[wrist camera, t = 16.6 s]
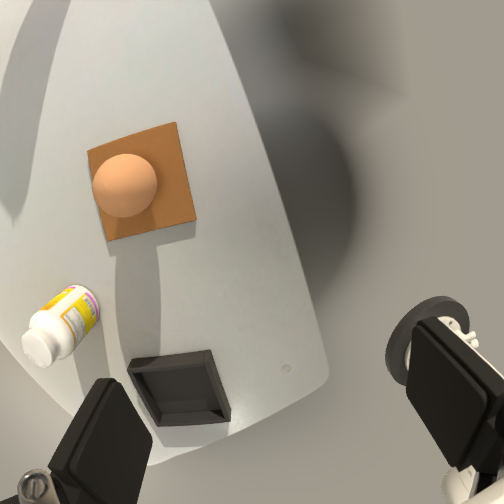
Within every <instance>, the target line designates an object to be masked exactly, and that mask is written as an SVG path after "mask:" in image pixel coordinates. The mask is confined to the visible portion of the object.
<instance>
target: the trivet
mask: <svg viewBox="0 0 504 504" xmlns="http://www.w3.org/2000/svg"><path fill="white" fill-rule="evenodd" d="M87 153H88V159H89V164H90V170H91V175H92V180H94V177H95V175H96V172H97V171H98V169H99V168H100V166H101V165H102V164H103V163H104V162H105V161H106V160H108V159H110V158H112V157H114V156H116V155H121V154H133V155H137V156H140V157H142V158H143V159H145V160H146V161H147V162H148V163H149V164H150V165H151V166H152V168H153V169H154V172H155V175H156V178H157V190H156V194H155V196H154V199H153V201H152V202H151V203H150V205H149V206H148V207H147V208H146V209H145V210H144V211H142V212H141V213H139V214H137V215H134V216H130V217H125V218H122V217H114V216H112V215H109V214H107V213H106V212H105V211H103V210H102V209H101V208H100V207H99V211H100V215H101V219H102V222H103V226H104V230H105V234H106V237H107V241H112V240H116V239H119V238H123V237H127V236H131V235H135V234H139V233H144V232H148V231H152V230H156V229H160V228H164V227H169V226H173V225H177V224H182V223H186V222H191V221H195V220H196V215H195V210H194V206H193V201H192V197H191V193H190V188H189V184H188V179H187V174H186V170H185V165H184V160H183V156H182V151H181V146H180V141H179V136H178V131H177V126H176V122H172V123H168V124H164V125H161V126H158V127H154V128H151V129H148V130H144V131H141V132H138V133H135V134H132V135H129V136H126V137H123V138H120V139H117V140H115V141H112V142H109V143H106V144H104V145H101V146H98V147H96V148H93V149H90V150H88V151H87Z"/></svg>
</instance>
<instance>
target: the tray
mask: <svg viewBox="0 0 504 504" xmlns="http://www.w3.org/2000/svg"><path fill="white" fill-rule="evenodd" d="M127 372H128V374H129V376H130V378H131V380H132V382H133V384H134V386H135V388H136V389H137V391H138V393H139V395H140V397H141V399H142V401H143V402H144V404H145V406H146V408H147V410H148V411H149V413H150V415H151V417H152V418H153V420H154V422H155V424H156V425H157V427H164V426H187V425H201V424H213V423H223V422H230V421H231V408H230V405H229V403H228V400H227V397H226V394H225V391H224V389H223V386H222V383H221V380H220V377H219V374H218V371H217V368H216V365H215V362H214V359H213V356H212V353H211V350H205V351H198V352H191V353H183V354H175V355H167V356H158V357H149V358H138V359H132V360H131V362H130V364H129V366H128V368H127Z"/></svg>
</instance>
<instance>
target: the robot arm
mask: <svg viewBox="0 0 504 504" xmlns="http://www.w3.org/2000/svg"><path fill="white" fill-rule="evenodd" d="M475 337H476V334H475V332H470V333H468V334H467V335H465V334H463V333H462V332H461V328H460V325H459V324H458V322H457V321H456V320H454V319H453V318H451V317H446V316H443V317H438V318H437V317H435V316H430V317H428V318H425V319H422V320H419V321H418V322H417V323H416V326H415V327H413V329H412V339H411V342H410V343H409V345H408V347H407V350H406V353H405V359H404V360H405V366H406V369H407V370H408V377H407V384H406V394H407V397H408V399H409V400H410V402H411V404H412V405H413V406H414V408H415V410H416V411H417V413H418V414H419V416H420V418H421V419H422V421H423V422H424V424H425V426H426V427H427V429H428V430H429V432H430V434H431V435H432V437H433V439H434V440H435V442H436V443H437V445H438V447H439V448H440V450H441V452H442V453H443V455H444V457H445V458H446V460H447V462H448V464H450V466H451V467H453V468H452V469H450V471H448V472H447V474H446V475H445V476H444V478H443V480H442V483H441V491H442V494H443V497H444V499H445V501H446V503H447V504H504V376H503V375H502V374H501V373H499V372H498V371H497V370H496V369H495V368H494V367H493V366H492V365H491V364H490V363H489V362H488V361H487V360H486V359H485V358H484V357H482V356H481V355H480V354H479V353H478V352H477V351H476V350H475V349H476V348H478V346H479V345H478V341H477V340H476V339H474V338H475ZM471 339H474V340H472V341H470V342H468V341H469V340H471ZM152 443H153V440H152V436H151V434H150V432H149V431H148V429H147V428H146V426H145V424H144V423H143V421H142V419H141V418H140V416H139V414H138V413H137V411H136V409H135V408H134V406H133V404H132V402H131V401H130V399H129V397H128V395H127V393H126V392H125V390H124V388H123V386H122V385H121V383H119V382H117V381H116V380H115V379H114V378H99V379H97V380H96V381H95V383H94V385H93V386H92V388H91V389H90V391H89V393H88V395H87V396H86V398H85V400H84V401H83V403H82V405H81V406H80V408H79V410H78V412H77V413H76V415H75V417H74V419H73V420H72V422H71V424H70V426H69V427H68V429H67V431H66V433H65V435H64V436H63V438H62V440H61V442H60V444H59V446H58V447H57V449H56V452H55V453H54V455H53V457H52V459H51V461H50V463H49V464H48V468H49V469H50V470H51V471H52V472H51V474H48V473H47V472H46V471H44V470H41V469H35V470H31V471H29V472H27V473H26V474H25V475H23V476H22V478H21V479H20V481H19V483H18V495H15V496H13V497H11V498H8V499H5V500H3V501H1V502H0V504H137V500H138V497H139V493H140V489H141V485H142V481H143V477H144V473H145V470H146V466H147V462H148V459H149V455H150V451H151V448H152Z"/></svg>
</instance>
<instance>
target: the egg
mask: <svg viewBox="0 0 504 504" xmlns="http://www.w3.org/2000/svg"><path fill="white" fill-rule="evenodd" d="M92 190H93V196H94V199H95V201H96V203H97V204H98V206H99V207H100V208H101V209H102V210H103V211H105V212H106V213H107V214H109V215H112V216H114V217H122V218H125V217H130V216H134V215H137V214H139V213H141V212H142V211H144V210H145V209H146V208H147V207H148V206H149V205H150V203H151V202H152V201H153V199H154V196H155V194H156V190H157V178H156V175H155V172H154V169H153V168H152V166H151V165H150V164H149V163H148V162H147V161H146V160H145V159H143V158H142V157H140V156H137V155H133V154H121V155H116V156H114V157H112V158H110V159H108V160H106V161H105V162H104V163H103V164H102V165H101V166H100V168H99V169H98V171H97V172H96V175H95V177H94V180H93V186H92Z"/></svg>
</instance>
